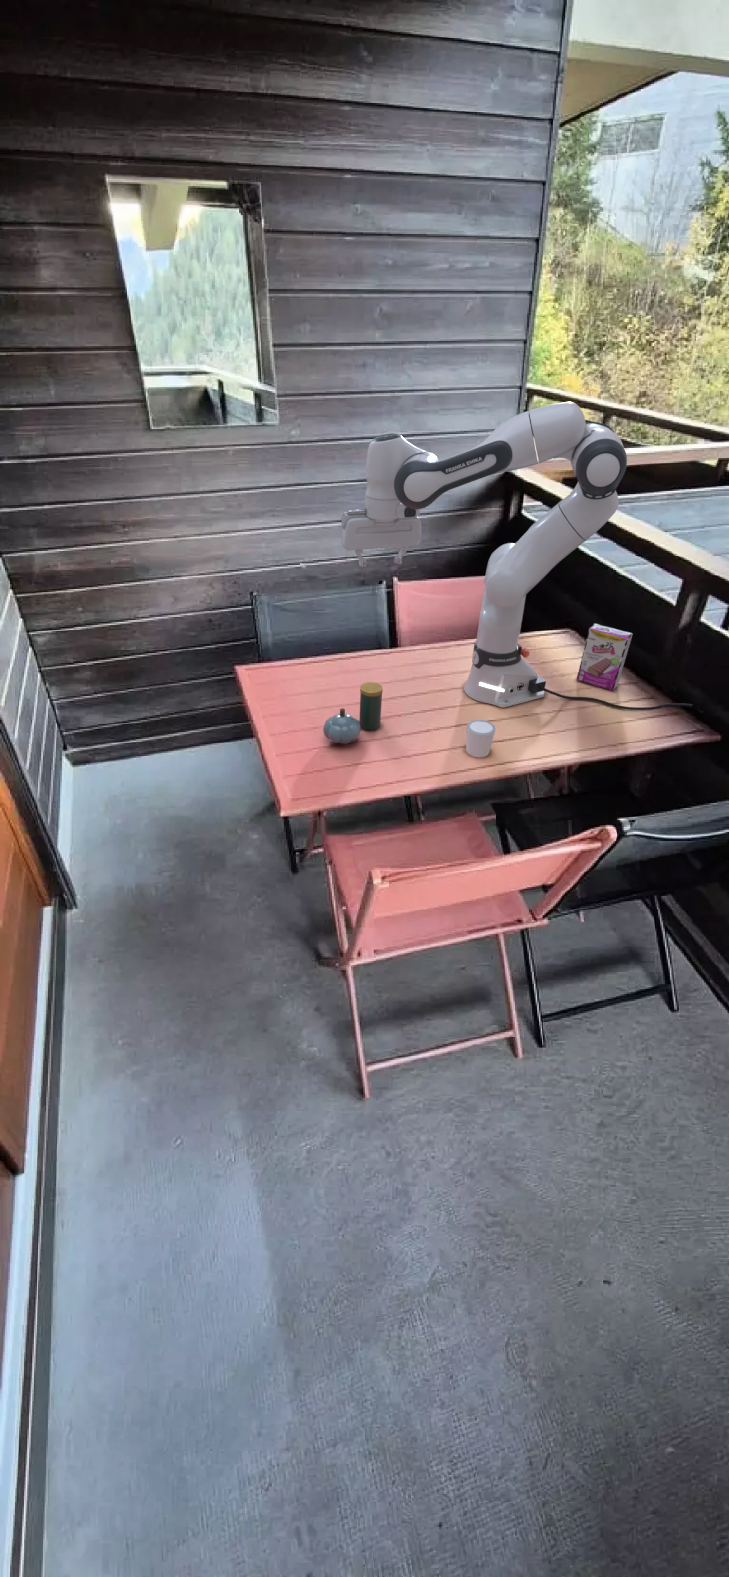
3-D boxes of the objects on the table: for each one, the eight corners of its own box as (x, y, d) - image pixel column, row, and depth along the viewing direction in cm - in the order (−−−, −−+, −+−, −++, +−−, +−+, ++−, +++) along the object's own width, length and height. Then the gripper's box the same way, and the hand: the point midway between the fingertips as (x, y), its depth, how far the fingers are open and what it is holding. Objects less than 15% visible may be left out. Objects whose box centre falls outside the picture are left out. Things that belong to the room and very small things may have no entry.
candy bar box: (575, 681, 203) (588, 628, 194) (581, 674, 207) (593, 622, 197) (613, 692, 199) (628, 638, 189) (618, 685, 202) (633, 632, 192)
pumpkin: (354, 728, 179) (355, 697, 174) (365, 747, 172) (366, 716, 166) (319, 732, 176) (318, 702, 171) (328, 753, 169) (328, 721, 164)
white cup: (490, 760, 169) (494, 736, 165) (462, 756, 170) (465, 732, 166) (492, 745, 174) (496, 721, 170) (464, 741, 175) (468, 717, 171)
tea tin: (376, 718, 183) (378, 681, 176) (383, 729, 179) (385, 691, 172) (356, 721, 182) (357, 683, 175) (362, 732, 177) (364, 694, 171)
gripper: (345, 514, 164) (344, 572, 173) (426, 509, 170) (421, 566, 178) (338, 506, 169) (337, 563, 178) (417, 502, 175) (413, 558, 183)
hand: (380, 564), depth 178 cm, fingers open, 8 cm apart
